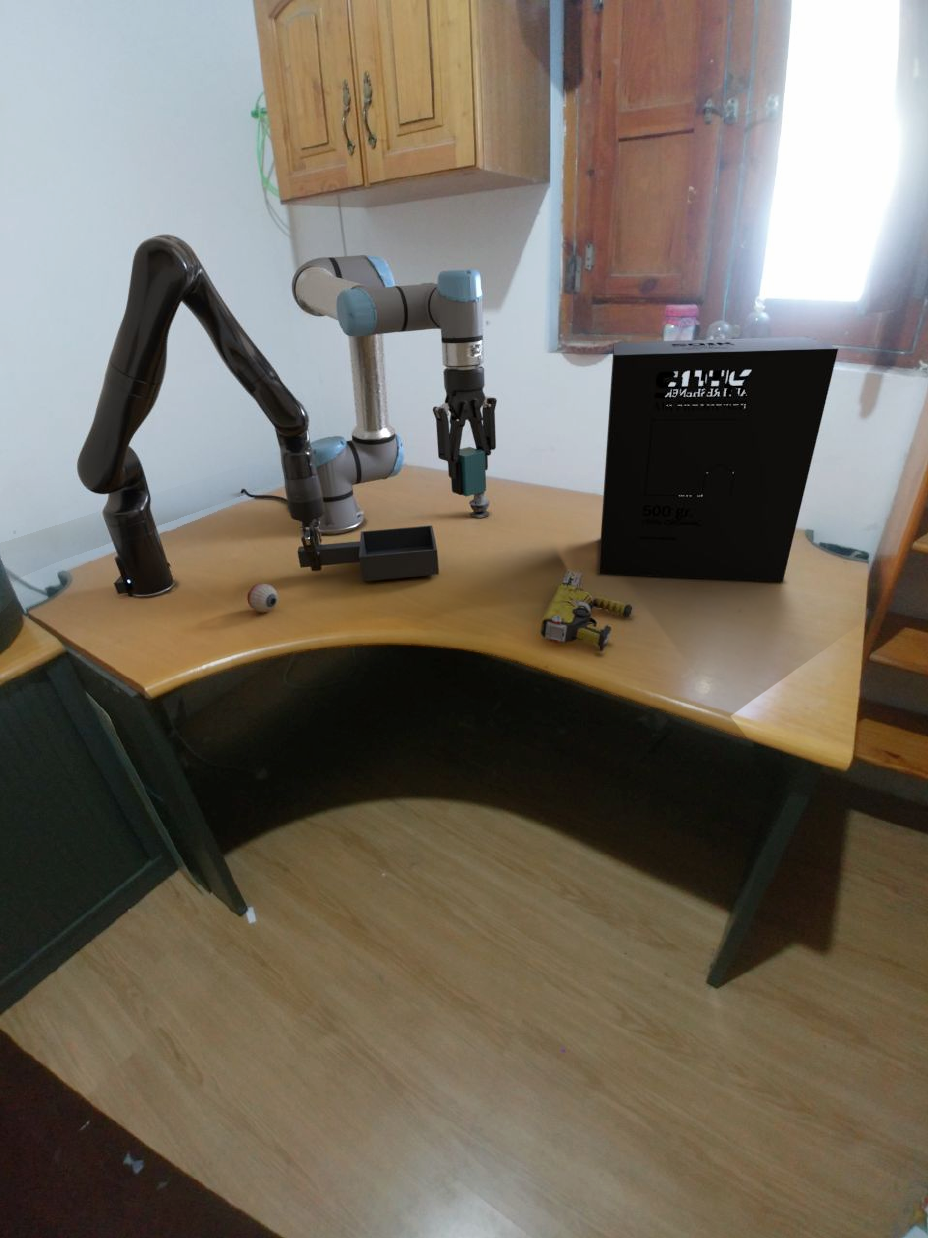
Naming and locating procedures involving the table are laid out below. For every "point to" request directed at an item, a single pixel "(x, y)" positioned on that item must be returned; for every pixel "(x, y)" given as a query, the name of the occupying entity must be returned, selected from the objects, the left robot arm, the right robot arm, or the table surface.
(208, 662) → the table surface
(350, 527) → the right robot arm
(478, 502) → the stone chess piece
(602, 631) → the toy gun
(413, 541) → the tray
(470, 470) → the block
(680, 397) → the cardboard box
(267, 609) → the eyeball
